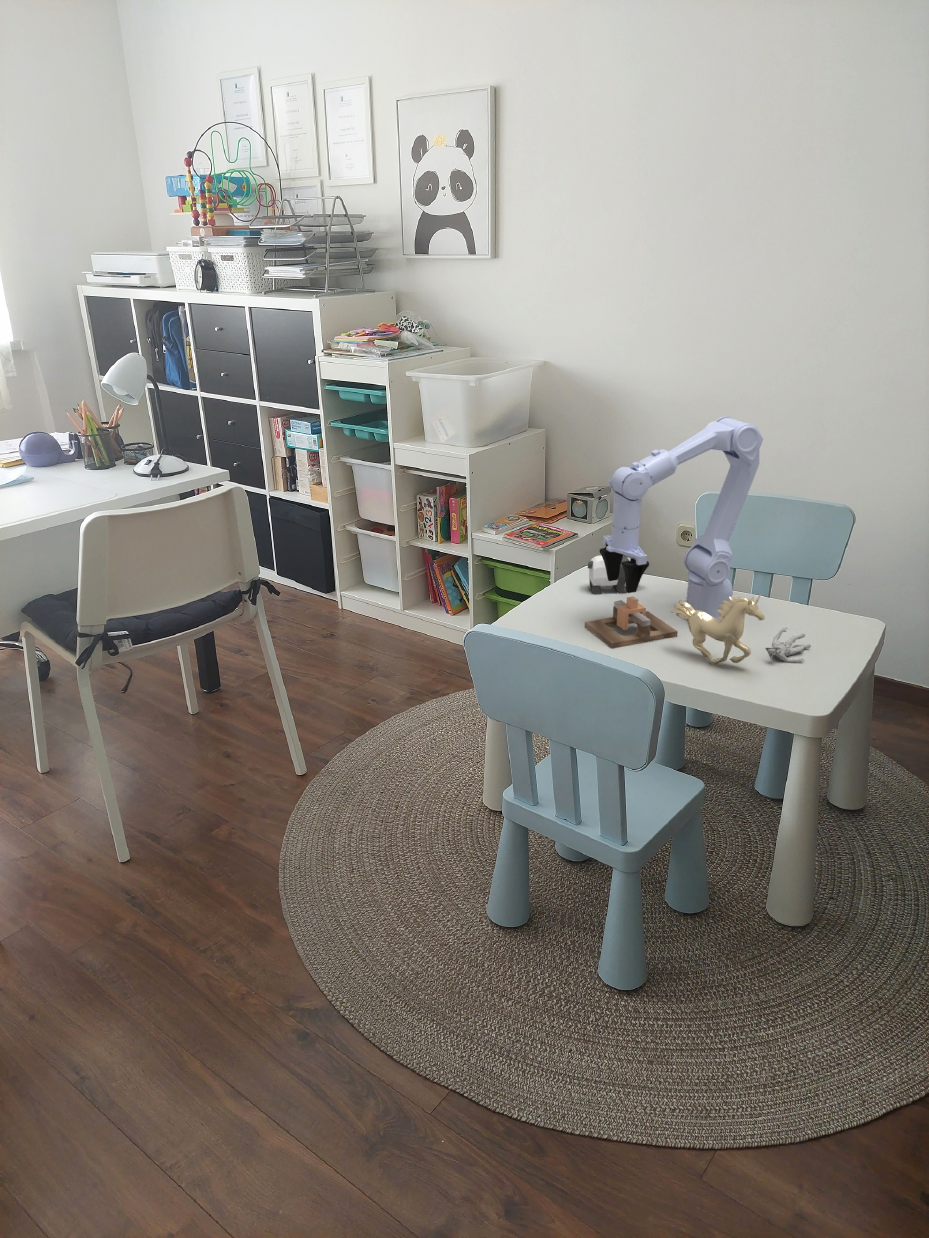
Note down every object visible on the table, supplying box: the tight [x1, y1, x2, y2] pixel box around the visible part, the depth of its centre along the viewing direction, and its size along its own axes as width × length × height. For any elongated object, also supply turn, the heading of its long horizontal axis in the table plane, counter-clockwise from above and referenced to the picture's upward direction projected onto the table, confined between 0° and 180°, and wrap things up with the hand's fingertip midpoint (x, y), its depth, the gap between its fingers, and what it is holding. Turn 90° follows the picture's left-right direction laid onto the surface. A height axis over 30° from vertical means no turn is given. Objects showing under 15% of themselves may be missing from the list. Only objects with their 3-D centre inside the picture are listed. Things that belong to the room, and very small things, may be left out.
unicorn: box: [670, 593, 766, 665], centre depth 177 cm, size 20×4×17 cm, turn 47°
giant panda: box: [587, 554, 630, 595], centre depth 215 cm, size 15×6×10 cm, turn 94°
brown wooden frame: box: [584, 599, 679, 649], centre depth 193 cm, size 16×12×5 cm
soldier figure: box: [764, 627, 812, 664], centre depth 182 cm, size 8×5×12 cm
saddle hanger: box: [617, 595, 647, 631], centre depth 192 cm, size 5×3×6 cm, turn 111°
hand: (621, 586), depth 192 cm, fingers open, 7 cm apart
